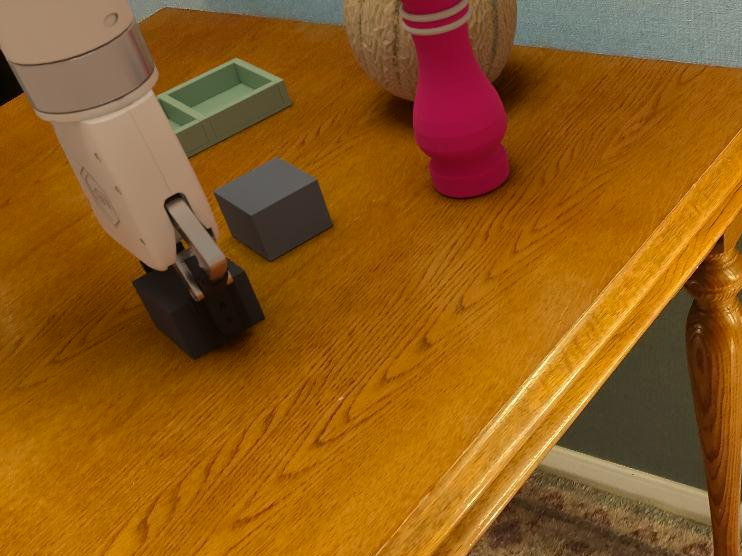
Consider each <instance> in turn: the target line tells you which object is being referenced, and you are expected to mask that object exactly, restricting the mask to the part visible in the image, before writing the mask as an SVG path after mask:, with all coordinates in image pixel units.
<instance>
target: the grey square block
mask: <svg viewBox="0 0 742 556" xmlns="http://www.w3.org/2000/svg"><path fill="white" fill-rule="evenodd" d="M212 193H213V196H214V198H215V200H216V202H217V205H218V207H219V209H220V212H221V214H222V216H223V218H224V221H225V223H226V225H227V228H228V230H229V233H230V235H231V236H232V237H233V238H234V239H236V240H237V241H238V242H240V243H241V244H243V245H245V246H246V247H247V248H249V249H250V250H252V251H253V252H255V253H256V254H258V255H259V256H260V257H262V258H264V260H266V261H268V262H272V261H273V260H275V259H277V258H279V257H281V256H282V255H284V254H286V253H288V252H289V251H291V250H293V249H296V248H297V247H298V246H300V245H302V244H304V243H305V242H307V241H308V240H310V239H312V238H314V237H315V236H317V235H319V234H321V233H323V232H325V231H326V230H328V229H329V228H331V227H333V226H334V223H333V221H332V217H331V215H330V212H329V209H328V206H327V204H326V201H325V198H324V195H323V192H322V189H321V185H320V183H319V180H318V179H317V177H314V176H312V175H310V174H309V173H307V172H305V171H304V170H301V169H299V168H298V167H297V166H294V165H292V164H291V163H289V162H287V161H285V160H284V159H282V158H280V157H278V156H276V157H274V158H272V159H270V160H269V161H266V162H264V163H262V164H261V165H258V166H257V167H255V168H254V169H252V170H250V171H248V172H246V173H244V174H242V175H240V176H238V177H236V178H234V179H233V180H231V181H229V182H226V183H225V184H223V185H222V186H220V187H218V188H216V189H214V190H212Z"/></svg>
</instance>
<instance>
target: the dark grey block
mask: <svg viewBox="0 0 742 556" xmlns="http://www.w3.org/2000/svg"><path fill="white" fill-rule="evenodd" d="M225 257H226V259H227V267H228V269H229V270H228V271H229V273H230V274H231V276H232V278H233V282H234V285H235V287H236V289H237V291H238V293H239V296H240V298H241V300H242V302H243V305H244V307H245V309H246V311H247V313H248V316H249V318H250V320H251V323H252V324H251V326H252V325H255V324H256V323H258V322H260V321H261V320H264V318H266V315H265V313H264V311H263V308H262V306H261V304H260V302H259V300H258V297H257V295H256V293H255V290H254V288H253V286H252V284H251V281H250V279H249V277H248V274H247V272H246V270H245V269H244V268H242V267H241V266H239V264H238V265H237V264H236V263H235V262H234V261H232V260H231V259H229V258H228V257H227V256H225ZM185 264H186V266H187V267H188V269H189V270H190V272H191V274H192V275H193V277H194V279H195V274H196V270H198V269H200V268H201V267H200V266H199V261H198V259H197V257H196V256H194V257H193V258H191V259H189V260H187V261H185ZM131 284H132V286H133V288H134V289H135V291H136V293H137V295H138V297H139V298H140V299H139V300H140V301H141V303H142V304H143V306H144V308H145V310H146V311H147V313H148V316H149V317H150V319H151V321H152V323H153V325H154V327H155V328H156V329H157V330H158V331H160V332H161V333H162V334H163V335H164V336H165V337H167V339H169V340H170V341H171V342H172V343H174V344H175V345H176V346H177V347H178V348H179V349H180V350H181V351H183V352H184V353H185V354H186V355H188V357H190V358H191V359H192V360H196V359H198V358H199V357H201V356H202V355H203V356H204V354H207V352H210V351H211V350H212V349H214V348H215V347H214V346H212V345H211V344H210V343H209V341H208V339H207V337H206V335H205V333H204V331H203V329H202V327H201V325H200V323H199V321H198V319H197V317H196V315H195V313H194V311H193V309H192V307H191V305H190V303H189V301H188V298H189V297H191V294H190V293H189V291H188V289H187V288H186V286H185V285H184V283H183V281H182V280H181V278H180V277H179V275H178V273H177V272H176V270H175V269H174V267H173V265H170V266H168V269H167V270H165V271H159V270H156V269H154V270H152V271H150V272H148V273H144V274H143V275H140V276H139V277H138V278H136V279H133V280H132V281H131Z"/></svg>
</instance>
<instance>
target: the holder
mask: <svg viewBox="0 0 742 556" xmlns="http://www.w3.org/2000/svg"><path fill="white" fill-rule="evenodd" d="M155 96H156V98H157V100H158V102H159V104H160V105H161V107H162V109H163V111H164V113H165V115H166V117H167V119H168V120H169V121H170V123H171V126H172V128H173V130H174V132H175V134H176V136H177V138H178V140H179V142H180V144H181V146H182V148H183V150H184V152H185V154H186V156H187V158H188V159H189V158H192V156H195V155H197V154H199V153H200V152H203V151H205V150H206V149H208V148H210V147H212V146H214V145H216V144H219V143H220V142H222V141H224V140H226V139H228V138H230V137H232V136H234V135H236V134H238V133H239V132H241V131H244V130H246V129H248V128H250V127H251V126H253V125H255V124H257V123H259V122H261V121H263V120H265V119H267V118H269V117H272V116H273V115H275V114H277V113H279V112H280V111H282V110H285V109H286V108H288V107H290V106H292V105H293V103H292V100H291V97H290V94H289V91H288V88H287V85H286V82H285V80H284V79H283V78H281V77H280V76H277V75H275V74H272V73H271V72H268V71H266V70H264V69H263V68H260V67H257V66H256V65H253V64H251V63H249V62H247V61H245V60H243V59H240V58H238V57H234V58H233V59H231V60H228V61H226V62H224V63H222V64H220V65H218V66H216V67H214V68H211V69H209V70H208V71H206V72H203V73H201V74H199V75H197V76H195V77H193V78H191V79H188V80H186V81H185V82H183V83H180V84H178V85H177V86H174V87H172V88H170V89H168V90H166V91H164V92H162V93H161V92H160V93H159V94H157V95H155Z"/></svg>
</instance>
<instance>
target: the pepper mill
mask: <svg viewBox="0 0 742 556" xmlns="http://www.w3.org/2000/svg"><path fill="white" fill-rule="evenodd" d="M400 1H401V2H402V4H401V5H400V8H399V13H400V15H401V17H402V19H403V22H402V26H403V28H404V29H405V30H406V31H407V32H408V33H411V36H412V38H413V41H414V44H415V48H416V53H417V59H418V84H417V90H416V96H415V102H413V109H412V127H413V133H414V140H415V142H416V144H417V147H419V148H420V150H421V151H422V152H423V154H425V155H426V156H428V157H429V158H430V160H429V161H428V169H429V172H430V177H431V181H432V185H433V188H434V189H435V190H436V191H437V192H438V193H440V194H441V195H442V196H445V197H449V198H453V199H454V198H457V199H468V198H473V197H474V198H475V197H478V196H481V195H485V194H488V193H489V192H492V191H495V190H496V189H497V188H499V187H500V186H501V185H503V184H504V183H505V182H506V180H507V178H508V177H509V175H510V172H511V171H510V163H509V158H508V152H507V149H506V147H505V146H504V145H503V143H502V141H503V140H504V138H505V135H506V132H507V129H508V117H507V114H506V110H505V107H504V104H503V101H502V100H501V98H500V95H499V93H498V91H497V90H496V88H495V87H494V85H493V84H492V83H490V81H489V80H488V79H487V77H486V76H485V74H484V73H483V71H482V70H481V68H480V66H479V65H478V62H477V60H476V58H475V56H474V54H473V50H472V46H471V42H470V38H469V31H468V22H467V21H468V20H469V18H470V17H471V14H472V10H471V8H470V6H469V3H468V2H469V0H400Z"/></svg>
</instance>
